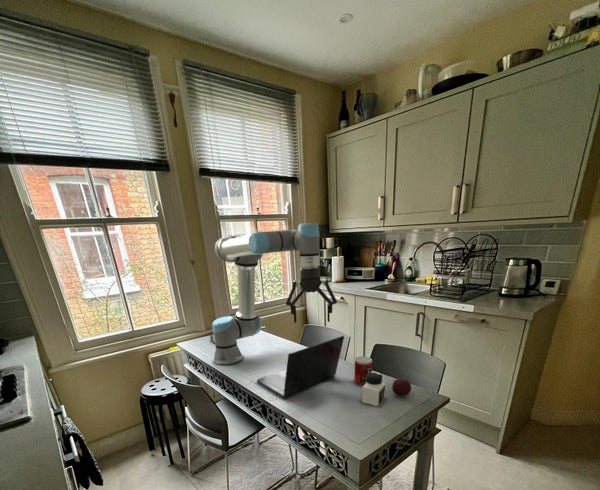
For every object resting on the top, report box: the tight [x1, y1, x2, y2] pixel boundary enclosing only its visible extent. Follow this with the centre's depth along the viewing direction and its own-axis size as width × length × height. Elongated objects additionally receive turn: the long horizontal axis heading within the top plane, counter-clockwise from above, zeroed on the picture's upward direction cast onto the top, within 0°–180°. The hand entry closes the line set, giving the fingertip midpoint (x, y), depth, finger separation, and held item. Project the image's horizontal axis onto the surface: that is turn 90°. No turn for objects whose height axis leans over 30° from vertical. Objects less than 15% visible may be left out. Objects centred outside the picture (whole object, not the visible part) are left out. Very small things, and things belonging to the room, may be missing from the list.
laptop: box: [256, 368, 335, 400], centre depth 149 cm, size 21×30×2 cm
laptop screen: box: [283, 335, 345, 397], centre depth 135 cm, size 21×30×1 cm
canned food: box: [353, 356, 373, 386], centre depth 142 cm, size 8×8×11 cm
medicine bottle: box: [361, 371, 386, 407], centre depth 126 cm, size 7×7×12 cm
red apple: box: [391, 378, 412, 397], centre depth 131 cm, size 7×8×7 cm
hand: (311, 321), depth 129 cm, fingers open, 13 cm apart
